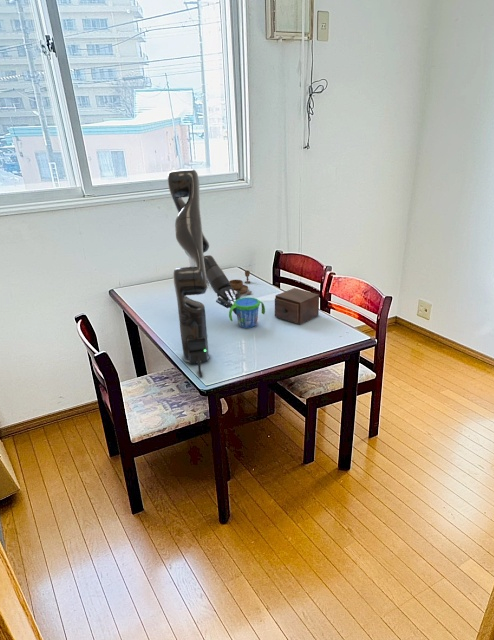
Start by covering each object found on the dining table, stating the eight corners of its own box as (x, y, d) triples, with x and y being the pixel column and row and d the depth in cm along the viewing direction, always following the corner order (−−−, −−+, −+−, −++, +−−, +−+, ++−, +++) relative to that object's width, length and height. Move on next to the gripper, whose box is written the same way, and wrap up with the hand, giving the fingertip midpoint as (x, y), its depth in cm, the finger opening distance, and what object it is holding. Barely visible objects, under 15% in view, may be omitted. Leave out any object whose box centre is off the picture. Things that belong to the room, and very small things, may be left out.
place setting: (215, 289, 246) (214, 278, 243) (247, 281, 256) (247, 269, 253) (236, 298, 234) (236, 286, 231) (269, 289, 245) (269, 277, 242)
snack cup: (233, 332, 200) (232, 308, 194) (226, 323, 208) (224, 300, 203) (269, 326, 205) (269, 303, 199) (260, 317, 213) (260, 294, 208)
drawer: (295, 324, 204) (295, 306, 200) (272, 316, 211) (272, 299, 207) (314, 315, 212) (314, 297, 208) (291, 308, 219) (292, 291, 215)
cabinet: (300, 324, 206) (300, 302, 201) (275, 316, 214) (275, 295, 209) (318, 315, 214) (319, 294, 209) (294, 308, 221) (294, 287, 216)
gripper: (209, 278, 201) (232, 314, 200) (232, 270, 209) (254, 305, 208) (201, 288, 207) (223, 322, 206) (224, 280, 215) (245, 313, 214)
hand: (239, 313), depth 207 cm, fingers closed
